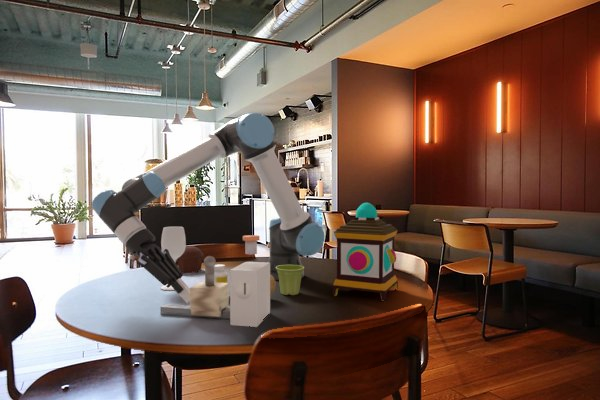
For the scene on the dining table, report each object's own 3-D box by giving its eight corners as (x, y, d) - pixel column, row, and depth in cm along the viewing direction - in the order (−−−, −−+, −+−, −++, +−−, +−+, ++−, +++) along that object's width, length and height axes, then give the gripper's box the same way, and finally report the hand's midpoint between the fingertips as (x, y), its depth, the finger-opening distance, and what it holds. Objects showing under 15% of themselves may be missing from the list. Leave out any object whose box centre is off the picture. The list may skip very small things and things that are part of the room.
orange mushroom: (240, 254, 106) (240, 236, 106) (245, 252, 111) (245, 235, 111) (256, 255, 106) (256, 237, 105) (261, 252, 110) (261, 235, 110)
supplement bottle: (230, 294, 134) (230, 264, 133) (222, 298, 129) (222, 267, 128) (215, 293, 135) (215, 263, 135) (207, 297, 130) (206, 266, 130)
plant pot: (290, 288, 142) (290, 263, 142) (310, 293, 135) (310, 267, 135) (269, 293, 135) (269, 267, 135) (289, 298, 129) (289, 271, 128)
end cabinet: (229, 326, 103) (229, 270, 102) (246, 311, 115) (246, 261, 115) (255, 328, 101) (255, 271, 101) (270, 312, 114) (270, 262, 113)
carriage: (190, 315, 108) (189, 257, 108) (201, 307, 115) (201, 253, 115) (218, 317, 107) (218, 258, 106) (228, 309, 114) (228, 254, 113)
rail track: (160, 314, 112) (160, 306, 112) (166, 311, 115) (166, 303, 115) (236, 319, 108) (236, 311, 108) (240, 316, 111) (240, 308, 111)
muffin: (199, 273, 167) (199, 249, 166) (172, 273, 167) (172, 248, 166) (206, 267, 178) (206, 245, 178) (181, 267, 179) (181, 244, 178)
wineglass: (179, 291, 137) (178, 228, 137) (155, 290, 139) (155, 228, 139) (191, 285, 146) (190, 226, 145) (168, 284, 148) (168, 225, 147)
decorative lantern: (347, 283, 149) (348, 201, 149) (402, 289, 141) (403, 202, 140) (326, 296, 131) (327, 202, 131) (388, 304, 123) (389, 203, 122)
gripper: (141, 242, 122) (193, 302, 119) (112, 249, 109) (170, 315, 106) (157, 225, 120) (210, 284, 118) (130, 229, 108) (189, 296, 105)
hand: (191, 299), depth 112 cm, fingers closed
